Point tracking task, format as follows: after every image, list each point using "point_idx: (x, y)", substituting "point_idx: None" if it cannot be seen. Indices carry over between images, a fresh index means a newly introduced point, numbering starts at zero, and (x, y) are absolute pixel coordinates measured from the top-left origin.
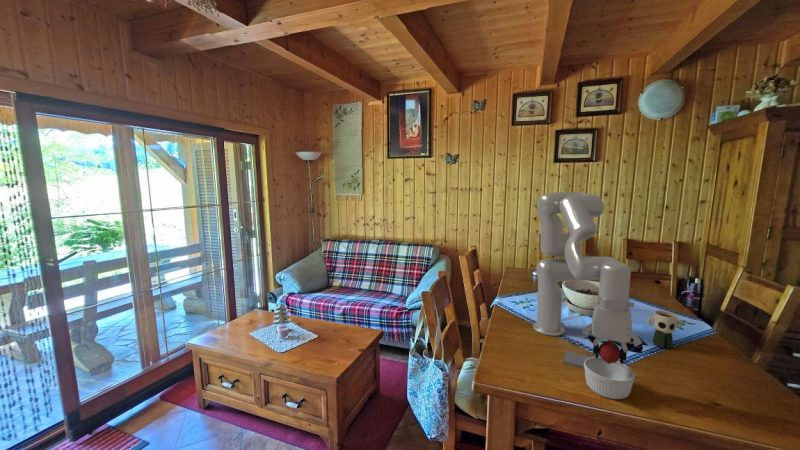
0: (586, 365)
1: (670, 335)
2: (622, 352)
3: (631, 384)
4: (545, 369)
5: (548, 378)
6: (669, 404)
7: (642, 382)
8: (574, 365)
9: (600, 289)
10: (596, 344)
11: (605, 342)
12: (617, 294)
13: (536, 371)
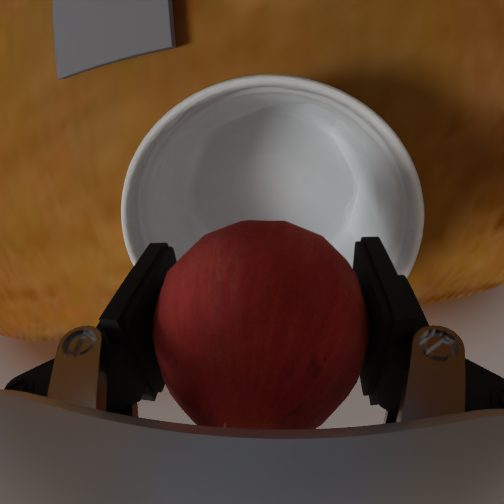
0: (144, 219)
1: None
2: (373, 399)
3: None
4: (34, 187)
5: (66, 244)
6: (492, 188)
7: (431, 46)
8: (106, 64)
9: None
10: (130, 403)
11: (197, 420)
12: None
13: (24, 222)
